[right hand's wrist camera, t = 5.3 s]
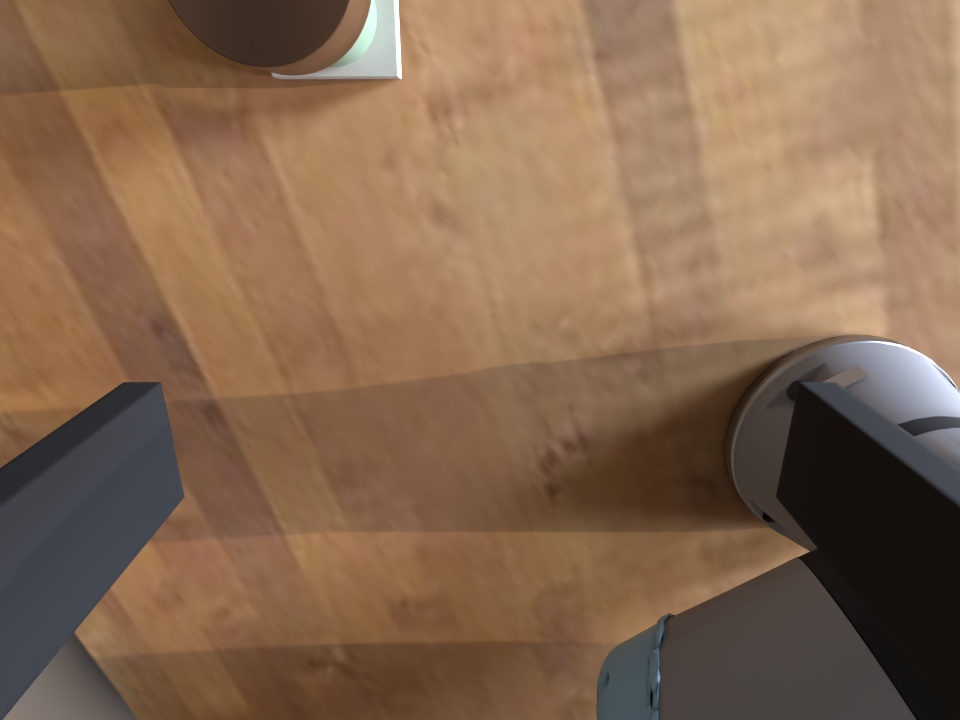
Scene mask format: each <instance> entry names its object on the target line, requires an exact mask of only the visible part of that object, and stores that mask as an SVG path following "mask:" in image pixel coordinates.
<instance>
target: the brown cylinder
mask: <svg viewBox="0 0 960 720" xmlns="http://www.w3.org/2000/svg"><path fill="white" fill-rule="evenodd" d="M169 2H170V4H171V5H172V7H173V9H174V10H175V12H176V14H177V15H178V16H179V18H180V19H181V20H182V22H183V23H184V24H185V26H186V27H187V28H188V29H189V30H190V31H191V32H192V33H193V34H194V35H195V36H196V37H197V38H198V39H199V40H200V41H202V42H203V43H204V44H205V45H206V46H208V47H209V48H211V49H212V50H214V51H215V52H217V53H218V54H220V55H222V56H224V57H226V58H228V59H230V60H233V61H235V62H238V63H241V64H244V65H247V66H251V67H254V68H258V69H261V70H264V71H268V72H271V73H276V74H280V75H290V76H297V75H307V74H311V73H315V72H318V71H320V70H323V69H325V68H327V67H329V66H331V65H332V64H334V63H336V62H337V61H338V60H339V59H341V58H342V57H343V56H344V55H345V54H346V53H347V52H348V51H349V50H350V49H351V48H352V46H353V45H354V44H355V42H356V41H357V39H358V38H359V36H360V34H361V32H362V30H363V28H364V25H365V23H366V20H367V17H368V14H369V10H370V5H371V0H169Z"/></svg>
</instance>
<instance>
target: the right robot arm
mask: <svg viewBox="0 0 960 720" xmlns="http://www.w3.org/2000/svg"><path fill="white" fill-rule="evenodd" d="M725 459H726V466H727V470H728V474H729V477H730V479H731V482H732V484H733V486H734V488H735V489H736V491H737V492H738V494H739V495H740V497H741V498H742V499H743V501H744V502H745V504H746V505H747V506H748V508H749V509H750V510H751V511H752V512H753V513H754V514H755V515H756V516H757V517H758V518H759V519H760V520H762V521H763V522H764V523H765V524H766V525H768V526H769V527H770V528H772V529H773V530H775V531H777V532H778V533H780V534H782V535H784V536H786V537H788V538H789V539H790V540H792V541H794V542H795V543H797V544H799V545H800V546H802V547H804V548H806V549H807V550H809V551H810V552H808V553H806V554H804V555H802V556H800V557H796V558H794V559H792V560H790V561H788V562H786V563H784V564H782V565H780V566H778V567H776V568H774V569H772V570H770V571H768V572H766V573H764V574H762V575H759V576H757V577H755V578H753V579H751V580H749V581H747V582H745V583H743V584H741V585H739V586H737V587H735V588H733V589H731V590H729V591H727V592H725V593H723V594H720V595H718V596H716V597H714V598H712V599H710V600H707V601H705V602H703V603H701V604H699V605H697V606H695V607H692V608H690V609H688V610H686V611H684V612H682V613H679V614H677V615H675V616H674V615H672V614H670V613H669V614H667V615H664V616H663V617H661V618H660V619H659V620H658V622H657V624H656V625H654V626H652V627H650V628H648V629H647V630H645V631H643V632H641V633H639V634H638V635H636V636H634V637H632V638H630V639H629V640H627V641H625V642H623V643H621V644H620V645H618V646H617V647H615V648H614V649H613V650H612V651H611V652H610V653H609V654H608V656H607V657H606V659H605V661H604V663H603V665H602V667H601V670H600V674H599V678H598V684H597V704H596V705H597V720H960V391H959V390H958V388H957V387H956V385H955V384H954V382H953V381H952V380H951V378H950V377H949V376H948V375H947V374H946V373H945V372H944V371H943V370H942V369H941V368H940V367H939V366H937V365H936V364H935V363H934V362H933V361H931V360H930V359H928V358H927V357H925V356H924V355H922V354H920V353H918V352H916V351H914V350H912V349H910V348H908V347H906V346H904V345H902V344H900V343H898V342H895V341H892V340H890V339H886V338H882V337H876V336H869V335H847V336H839V337H833V338H829V339H824V340H821V341H818V342H815V343H812V344H809V345H807V346H804V347H802V348H800V349H798V350H796V351H794V352H792V353H790V354H788V355H787V356H785V357H783V358H782V359H780V360H779V361H777V362H776V363H775V364H773V365H772V366H771V367H769V368H768V369H767V370H766V371H765V372H764V373H763V374H761V376H760V377H759V378H758V379H757V380H756V381H755V382H754V383H753V384H752V385H751V386H750V388H749V389H748V390H747V391H746V393H745V394H744V396H743V397H742V399H741V400H740V402H739V404H738V405H737V407H736V409H735V411H734V413H733V416H732V418H731V421H730V424H729V427H728V431H727V436H726V443H725ZM183 498H184V493H183V488H182V483H181V478H180V473H179V468H178V463H177V458H176V454H175V449H174V444H173V439H172V434H171V429H170V424H169V419H168V414H167V409H166V404H165V399H164V395H163V390H162V385H161V382H124V383H122V384H121V385H119V386H118V387H116V388H115V389H114V390H112V391H111V392H109V393H108V394H106V395H105V396H103V397H102V398H101V399H99V400H98V401H96V402H95V403H93V404H92V405H90V406H89V407H88V408H86V409H85V410H83V411H82V412H80V413H79V414H78V415H76V416H75V417H73V418H72V419H70V420H69V421H67V422H66V423H65V424H63V425H62V426H60V427H59V428H57V429H56V430H55V431H53V432H52V433H50V434H49V435H47V436H46V437H44V438H43V439H42V440H40V441H39V442H37V443H36V444H34V445H33V446H32V447H30V448H29V449H27V450H26V451H24V452H23V453H21V454H20V455H19V456H17V457H16V458H14V459H13V460H11V461H10V462H9V463H7V464H6V465H4V466H3V467H1V468H0V720H3V718H4V717H5V716H6V715H7V714H8V712H9V711H10V710H11V709H12V708H13V706H14V705H15V704H16V703H17V701H18V700H19V699H20V698H21V696H22V695H23V694H24V693H25V692H26V690H27V689H28V688H29V687H30V685H31V684H32V683H33V682H34V680H35V679H36V678H37V677H38V676H39V674H40V673H41V672H42V671H43V670H44V668H45V667H46V666H47V665H48V663H49V662H50V661H51V660H52V658H53V657H54V656H55V655H56V654H57V652H58V651H59V650H60V649H61V647H62V646H63V645H64V644H65V642H66V641H67V640H68V639H69V638H70V636H71V635H72V634H73V633H74V632H75V630H76V629H77V628H78V627H79V625H80V624H81V623H82V622H83V621H84V619H85V618H86V617H87V616H88V614H89V613H90V612H91V611H92V609H93V608H94V607H95V606H96V605H97V603H98V602H99V601H100V600H101V598H102V597H103V596H104V595H105V594H106V592H107V591H108V590H109V589H110V587H111V586H112V585H113V584H114V583H115V581H116V580H117V579H118V578H119V576H120V575H121V574H122V573H123V572H124V570H125V569H126V568H127V567H128V565H129V564H130V563H131V562H132V560H133V559H134V558H135V557H136V556H137V554H138V553H139V552H140V551H141V549H142V548H143V547H144V546H145V545H146V543H147V542H148V541H149V540H150V538H151V537H152V536H153V535H154V534H155V532H156V531H157V530H158V529H159V527H160V526H161V525H162V524H163V522H164V521H165V520H166V519H167V518H168V516H169V515H170V514H171V513H172V511H173V510H174V509H175V508H176V507H177V505H178V504H179V503H180V502H181V500H182V499H183Z"/></svg>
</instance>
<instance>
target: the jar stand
mask: <svg viewBox="0 0 960 720" xmlns="http://www.w3.org/2000/svg"><path fill="white" fill-rule="evenodd" d="M271 74H272V77H274V78H278V79H401V78H402V77H401V54H400V30H399V6H398V0H371V5H370V10H369V14H368V17H367V20H366V23H365V25H364V28H363V30H362V32H361V34H360V36H359V38H358V39H357V41H356V42H355V44H354V45H353V46H352V48H351V49H350V50H349V51H348V52H347V53H346V54H345V55H344V56H343V57H342V58H341V59H339V60H338V61H337V62H336V63H334V64H332V65H331V66H329V67H327V68H325V69H323V70H320V71H318V72H315V73H311V74H307V75H297V76H290V75H280V74H276V73H271Z"/></svg>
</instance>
